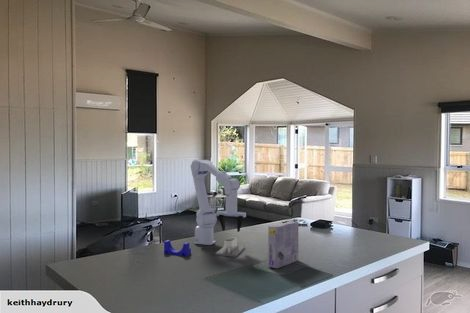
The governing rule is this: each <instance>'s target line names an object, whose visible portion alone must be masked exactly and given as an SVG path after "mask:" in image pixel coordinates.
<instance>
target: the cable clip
mask: <svg viewBox="0 0 470 313" xmlns="http://www.w3.org/2000/svg"><path fill="white" fill-rule="evenodd" d="M191 250H192V248H191V247H190V242H187V241H186V242H184V243H183V244H182V248H181V249H180V250H177V249H175V248H174V247H173V246H172V243H171V240H169V239H167V240H164V241H163V252H164V253H163V254H165V255H172V256H180V257H188V256H190V255H192V251H191Z"/></svg>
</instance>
